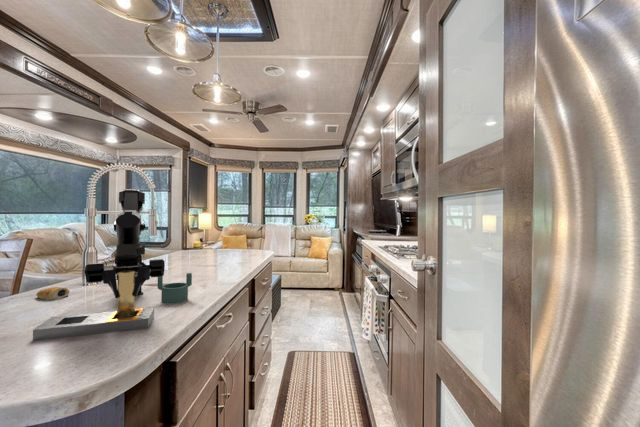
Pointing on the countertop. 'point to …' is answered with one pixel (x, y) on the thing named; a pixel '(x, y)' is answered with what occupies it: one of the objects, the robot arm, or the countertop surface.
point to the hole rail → (92, 324)
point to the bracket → (174, 290)
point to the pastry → (53, 293)
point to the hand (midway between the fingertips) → (125, 296)
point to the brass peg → (126, 294)
